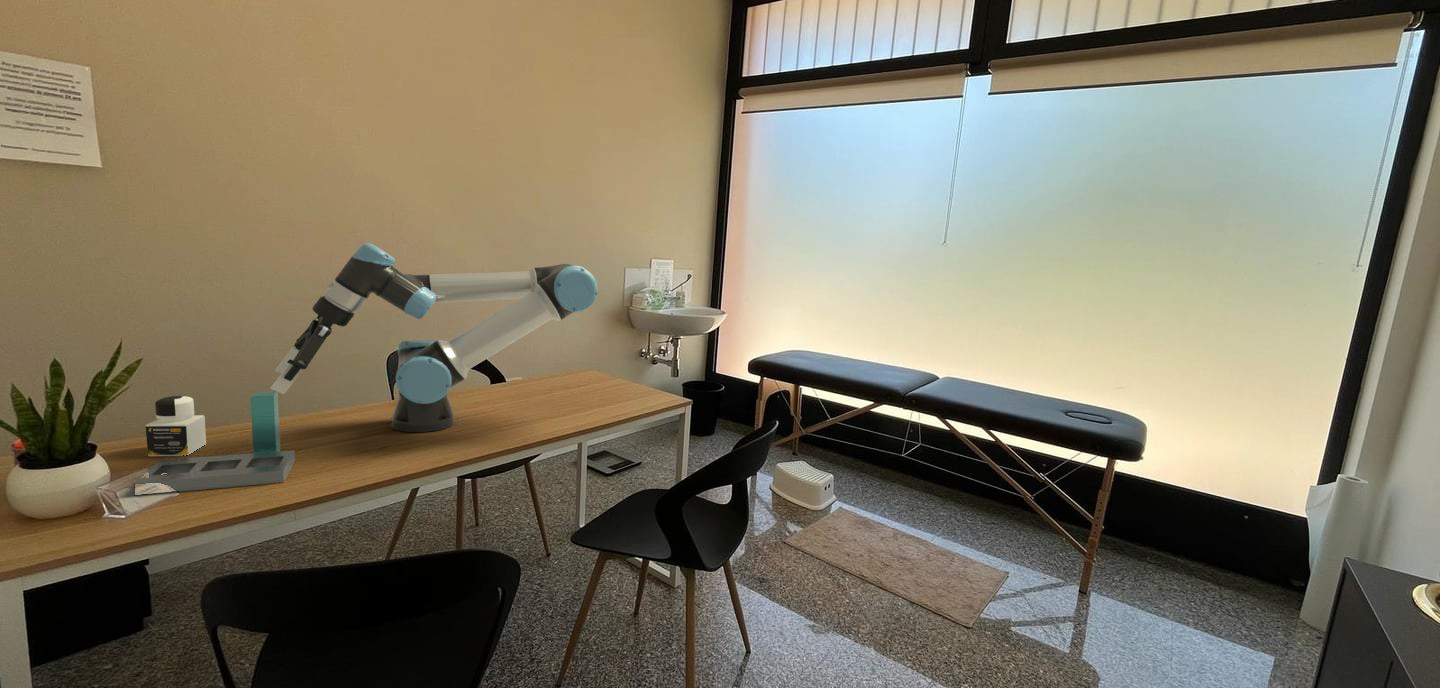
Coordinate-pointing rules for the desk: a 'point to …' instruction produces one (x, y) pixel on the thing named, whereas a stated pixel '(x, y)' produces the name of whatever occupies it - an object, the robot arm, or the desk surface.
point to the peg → (265, 422)
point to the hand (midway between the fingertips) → (279, 381)
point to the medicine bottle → (175, 428)
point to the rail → (221, 471)
